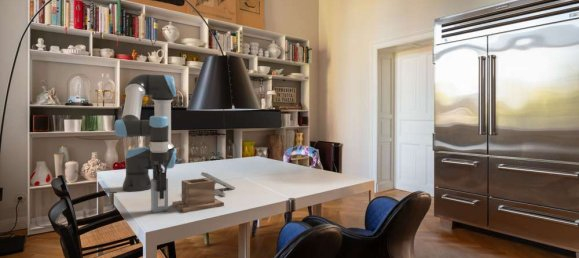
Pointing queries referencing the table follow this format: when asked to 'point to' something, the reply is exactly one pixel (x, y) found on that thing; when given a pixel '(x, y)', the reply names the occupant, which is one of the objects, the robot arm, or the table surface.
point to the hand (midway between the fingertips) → (159, 204)
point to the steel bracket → (155, 197)
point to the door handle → (218, 183)
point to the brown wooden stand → (197, 195)
